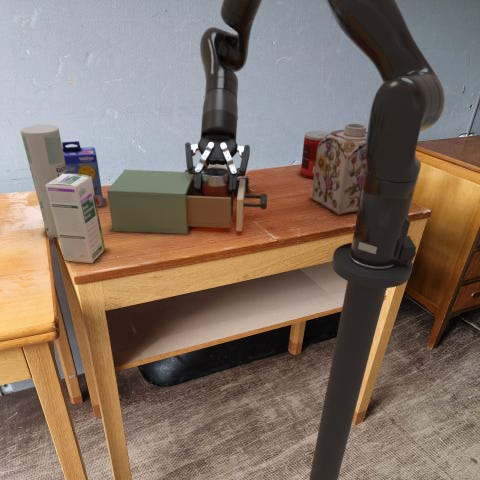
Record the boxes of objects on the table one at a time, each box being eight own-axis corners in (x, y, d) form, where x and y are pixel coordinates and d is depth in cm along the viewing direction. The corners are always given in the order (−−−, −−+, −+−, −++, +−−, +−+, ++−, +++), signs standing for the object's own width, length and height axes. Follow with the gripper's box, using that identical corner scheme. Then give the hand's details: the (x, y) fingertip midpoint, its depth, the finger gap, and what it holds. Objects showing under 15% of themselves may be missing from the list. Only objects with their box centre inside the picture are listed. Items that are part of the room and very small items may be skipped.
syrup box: (92, 264, 81) (77, 185, 72) (62, 260, 81) (44, 182, 73) (105, 250, 85) (93, 174, 77) (77, 247, 86) (61, 172, 78)
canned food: (333, 175, 126) (339, 134, 120) (317, 181, 121) (322, 139, 115) (311, 168, 130) (316, 129, 124) (295, 174, 126) (299, 133, 119)
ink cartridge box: (60, 210, 100) (45, 144, 92) (60, 202, 105) (45, 137, 96) (104, 206, 103) (94, 141, 95) (103, 198, 107) (93, 135, 99)
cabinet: (195, 209, 103) (194, 172, 98) (187, 234, 92) (185, 193, 87) (129, 206, 103) (124, 169, 98) (113, 231, 92) (106, 190, 87)
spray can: (73, 238, 89) (50, 133, 77) (41, 237, 89) (13, 132, 77) (83, 225, 94) (63, 125, 83) (52, 224, 94) (28, 124, 83)
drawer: (265, 209, 102) (267, 180, 98) (265, 232, 92) (267, 200, 88) (181, 206, 102) (180, 176, 98) (172, 228, 92) (170, 196, 88)
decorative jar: (347, 192, 115) (360, 117, 104) (377, 208, 106) (394, 128, 96) (309, 199, 110) (318, 121, 100) (337, 215, 102) (350, 133, 91)
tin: (230, 204, 98) (230, 168, 93) (228, 214, 93) (228, 177, 89) (203, 203, 98) (202, 166, 94) (200, 213, 93) (199, 175, 89)
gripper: (183, 106, 91) (177, 183, 88) (253, 109, 91) (249, 186, 88) (188, 127, 98) (183, 199, 96) (253, 130, 98) (249, 201, 95)
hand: (215, 192), depth 92 cm, fingers closed on tin, 6 cm apart
